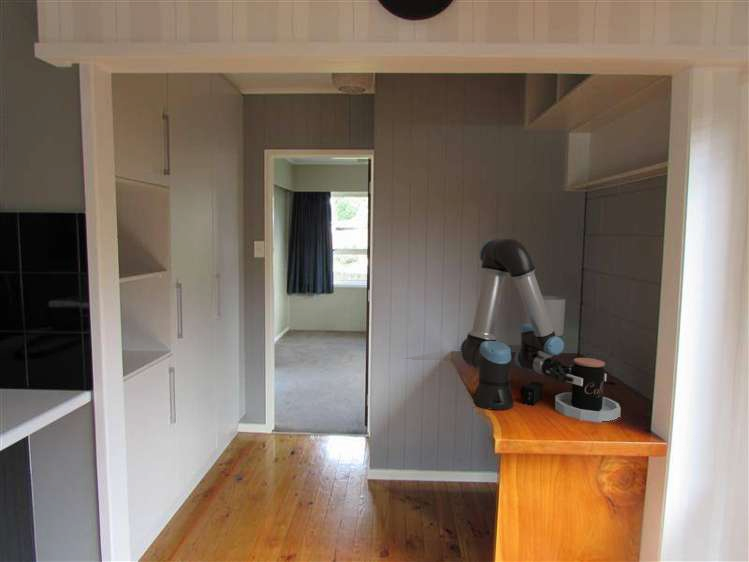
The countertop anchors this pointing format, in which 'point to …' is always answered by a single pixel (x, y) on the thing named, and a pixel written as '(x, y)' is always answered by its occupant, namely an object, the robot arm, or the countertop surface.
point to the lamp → (551, 315)
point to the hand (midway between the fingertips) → (594, 379)
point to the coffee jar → (588, 384)
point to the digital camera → (531, 393)
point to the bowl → (605, 414)
